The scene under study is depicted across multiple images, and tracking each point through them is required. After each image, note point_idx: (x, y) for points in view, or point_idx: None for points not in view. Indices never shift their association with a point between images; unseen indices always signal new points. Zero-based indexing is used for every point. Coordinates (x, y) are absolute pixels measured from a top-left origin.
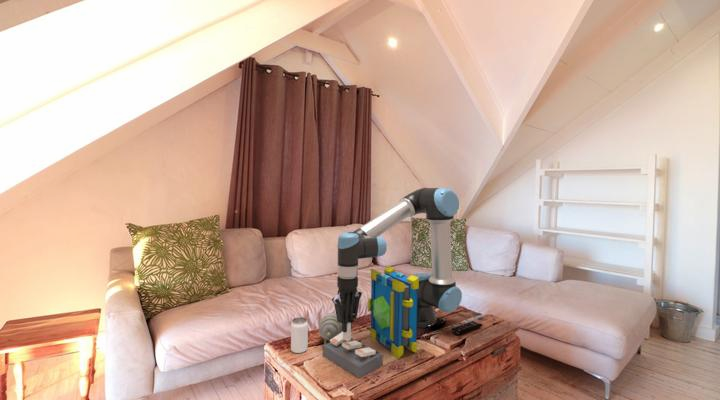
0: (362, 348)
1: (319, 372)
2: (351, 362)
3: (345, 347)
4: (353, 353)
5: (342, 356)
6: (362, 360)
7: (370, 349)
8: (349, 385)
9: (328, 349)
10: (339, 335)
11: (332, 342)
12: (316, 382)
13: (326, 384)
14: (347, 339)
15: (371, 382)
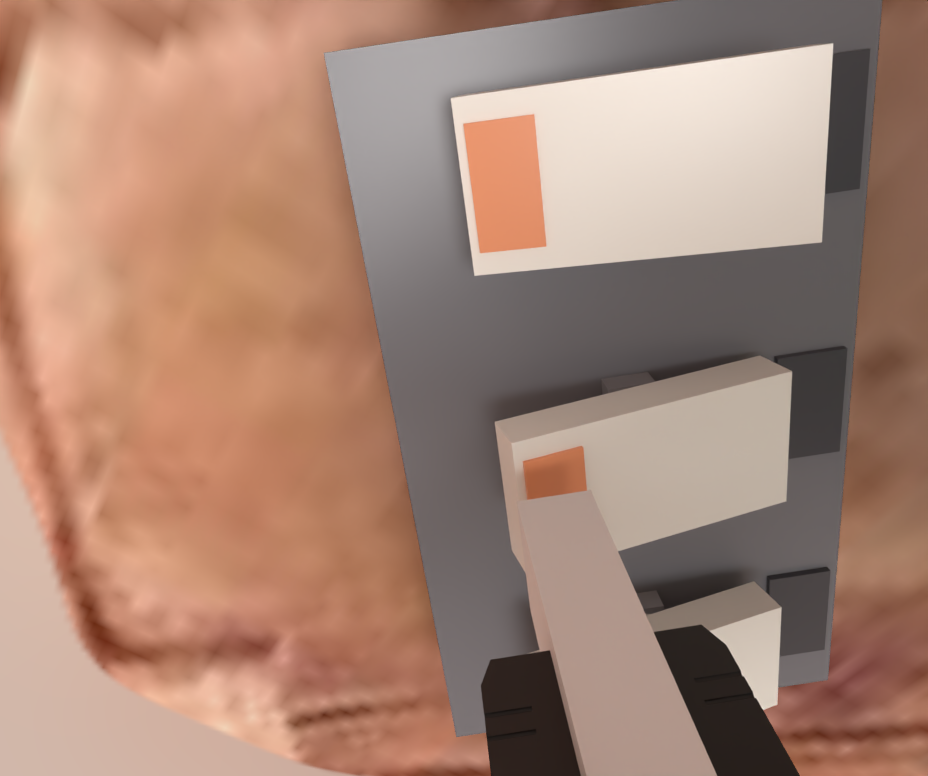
0: None
1: (144, 383)
2: (438, 640)
3: (507, 497)
4: None
5: (417, 503)
6: None
7: (745, 672)
8: (319, 681)
9: (356, 212)
10: (670, 120)
11: (463, 172)
12: (53, 513)
13: (136, 582)
14: (535, 624)
15: None
